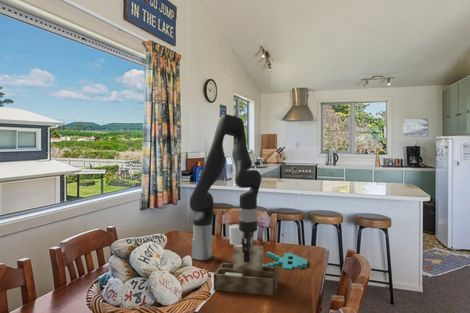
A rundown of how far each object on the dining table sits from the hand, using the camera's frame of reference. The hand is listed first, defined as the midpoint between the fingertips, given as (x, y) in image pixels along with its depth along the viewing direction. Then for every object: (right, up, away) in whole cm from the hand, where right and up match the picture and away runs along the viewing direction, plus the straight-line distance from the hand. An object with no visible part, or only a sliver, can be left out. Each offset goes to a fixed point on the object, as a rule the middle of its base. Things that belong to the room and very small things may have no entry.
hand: (248, 258), depth 135 cm
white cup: (-5, -8, +55) cm, 56 cm away
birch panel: (0, -10, 0) cm, 10 cm away
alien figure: (+19, -10, +24) cm, 32 cm away
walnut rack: (-1, -11, -3) cm, 11 cm away
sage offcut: (-6, -10, -4) cm, 12 cm away
